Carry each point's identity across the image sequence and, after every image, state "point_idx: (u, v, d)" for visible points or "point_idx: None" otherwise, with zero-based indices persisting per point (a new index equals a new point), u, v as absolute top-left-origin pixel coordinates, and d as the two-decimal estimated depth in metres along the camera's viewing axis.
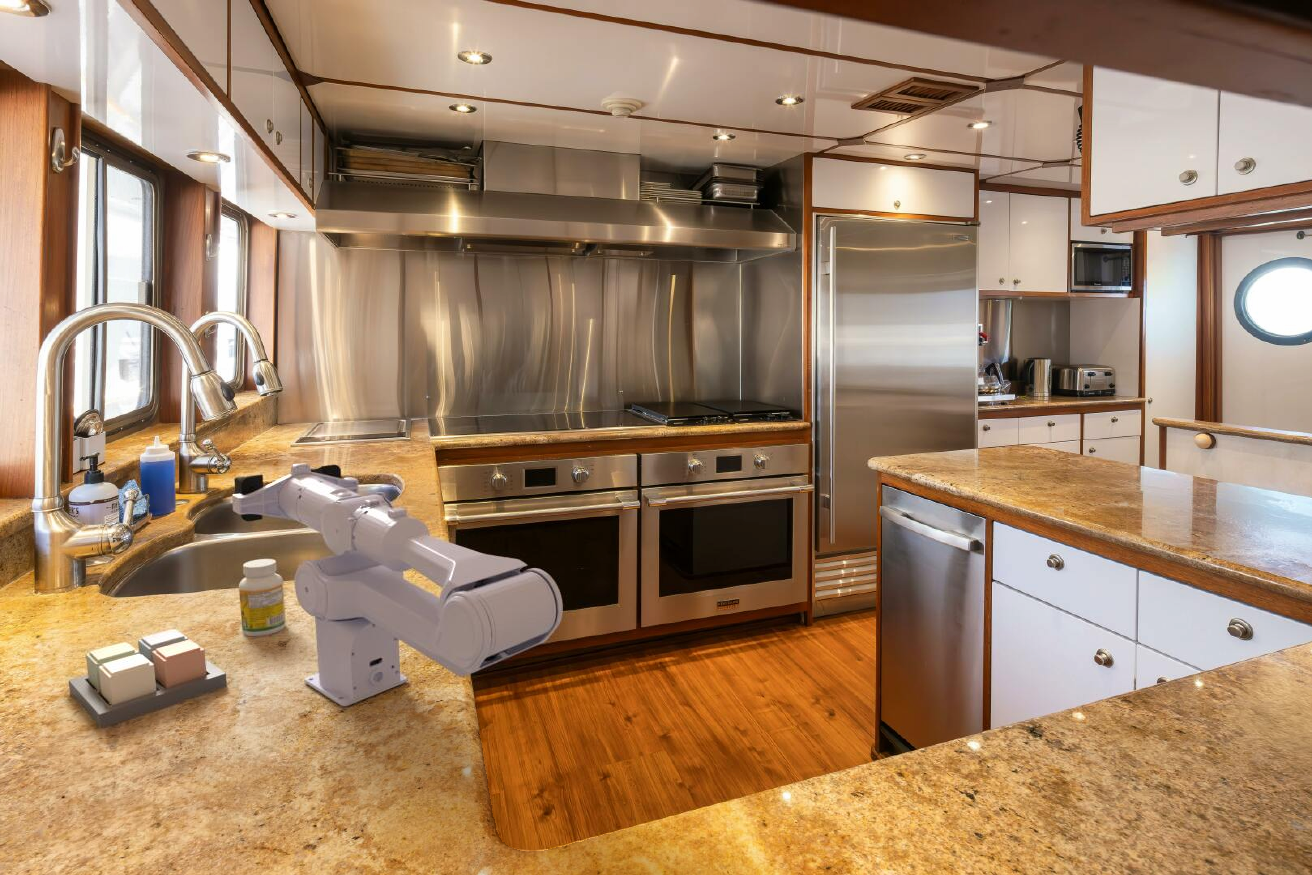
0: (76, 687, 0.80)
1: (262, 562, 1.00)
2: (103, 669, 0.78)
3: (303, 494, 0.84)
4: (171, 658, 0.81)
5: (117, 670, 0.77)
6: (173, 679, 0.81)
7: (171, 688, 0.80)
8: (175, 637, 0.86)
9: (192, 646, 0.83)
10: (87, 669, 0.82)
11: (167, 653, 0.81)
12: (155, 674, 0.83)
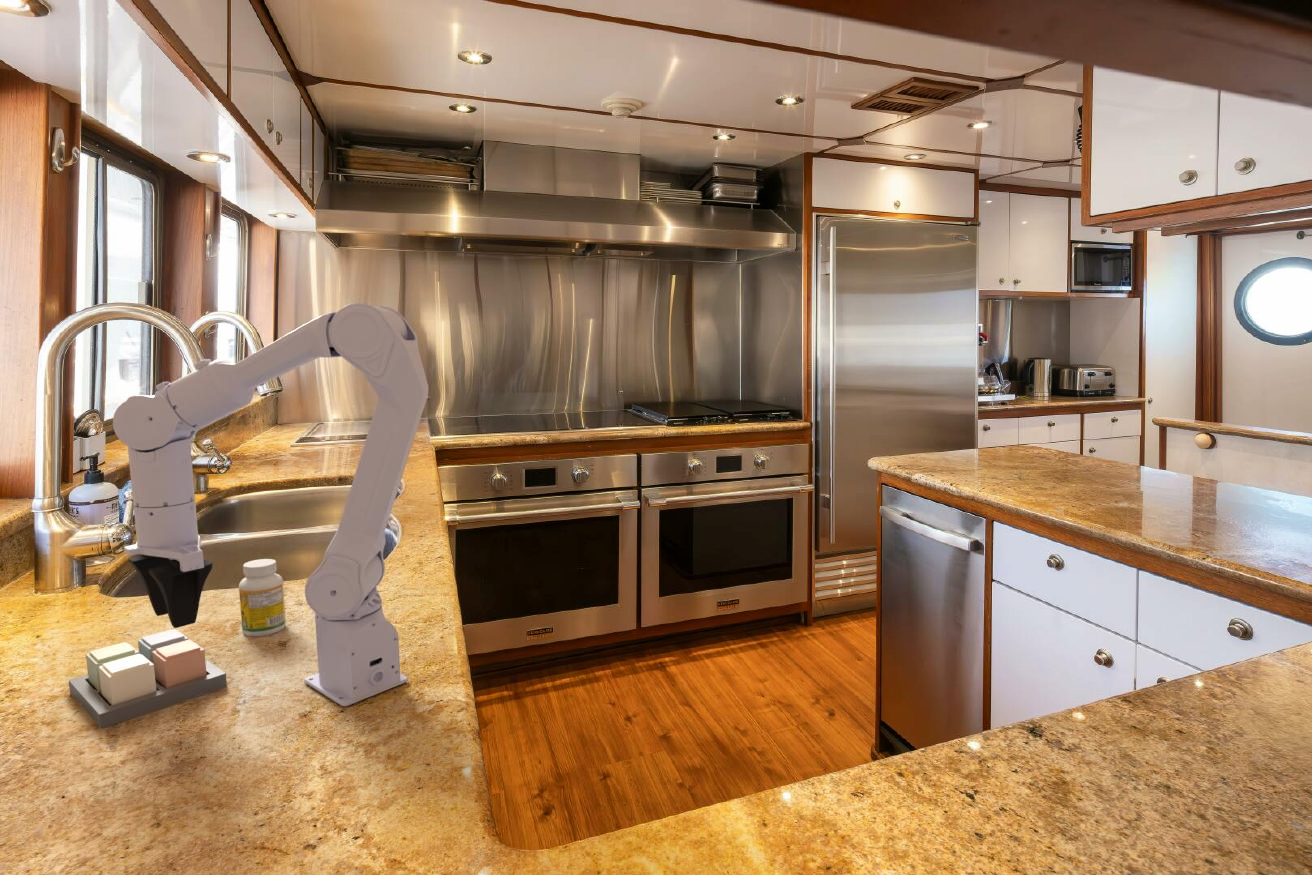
0: (76, 687, 0.80)
1: (262, 562, 1.00)
2: (103, 669, 0.78)
3: (135, 501, 0.78)
4: (171, 658, 0.81)
5: (117, 670, 0.77)
6: (173, 679, 0.81)
7: (171, 688, 0.80)
8: (175, 637, 0.86)
9: (192, 646, 0.83)
10: (87, 669, 0.82)
11: (167, 653, 0.81)
12: (155, 674, 0.83)
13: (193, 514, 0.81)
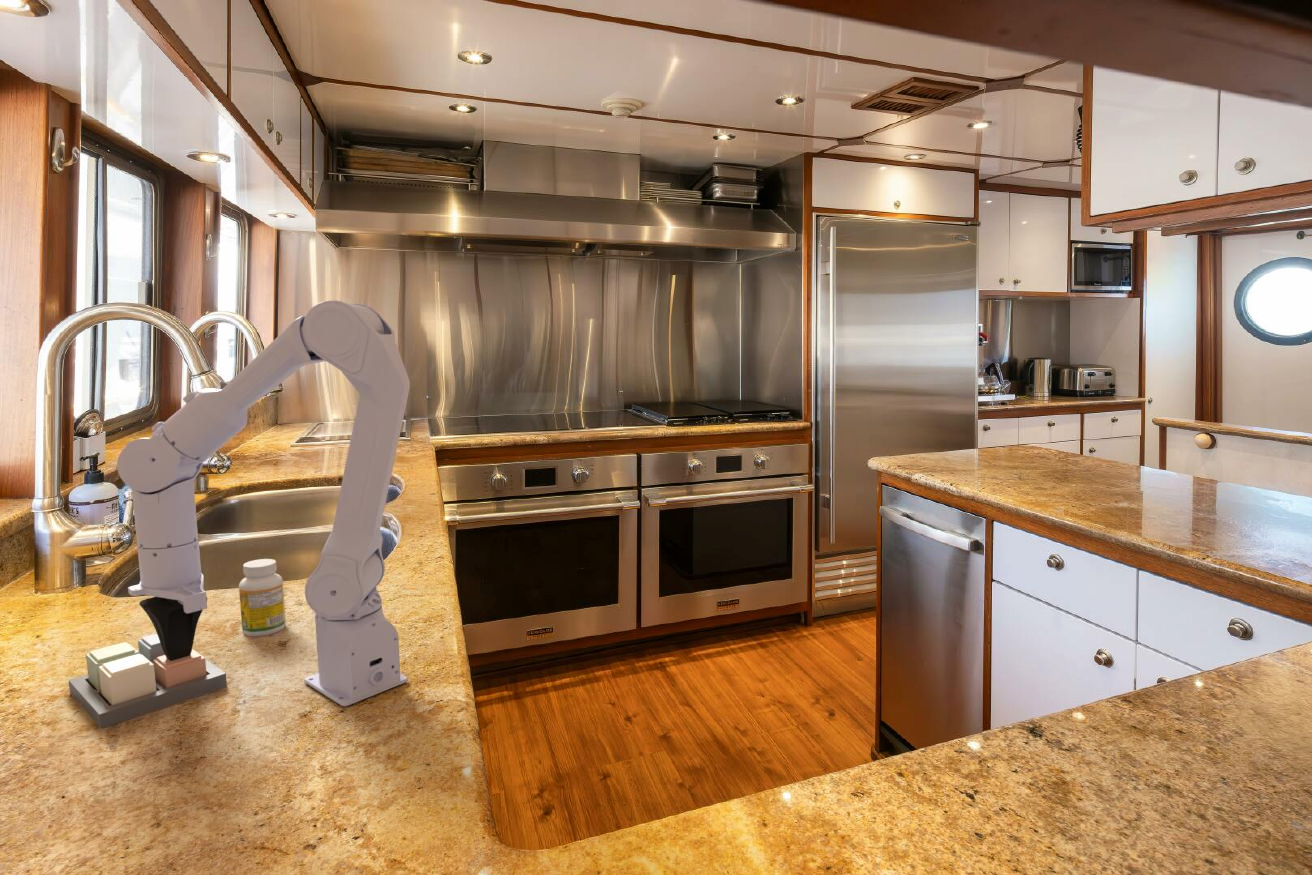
0: (76, 687, 0.80)
1: (262, 562, 1.00)
2: (103, 669, 0.78)
3: (139, 542, 0.79)
4: (172, 667, 0.81)
5: (117, 670, 0.77)
6: None
7: (171, 688, 0.80)
8: None
9: (193, 654, 0.83)
10: (87, 669, 0.82)
11: (168, 662, 0.82)
12: None
13: (196, 553, 0.82)
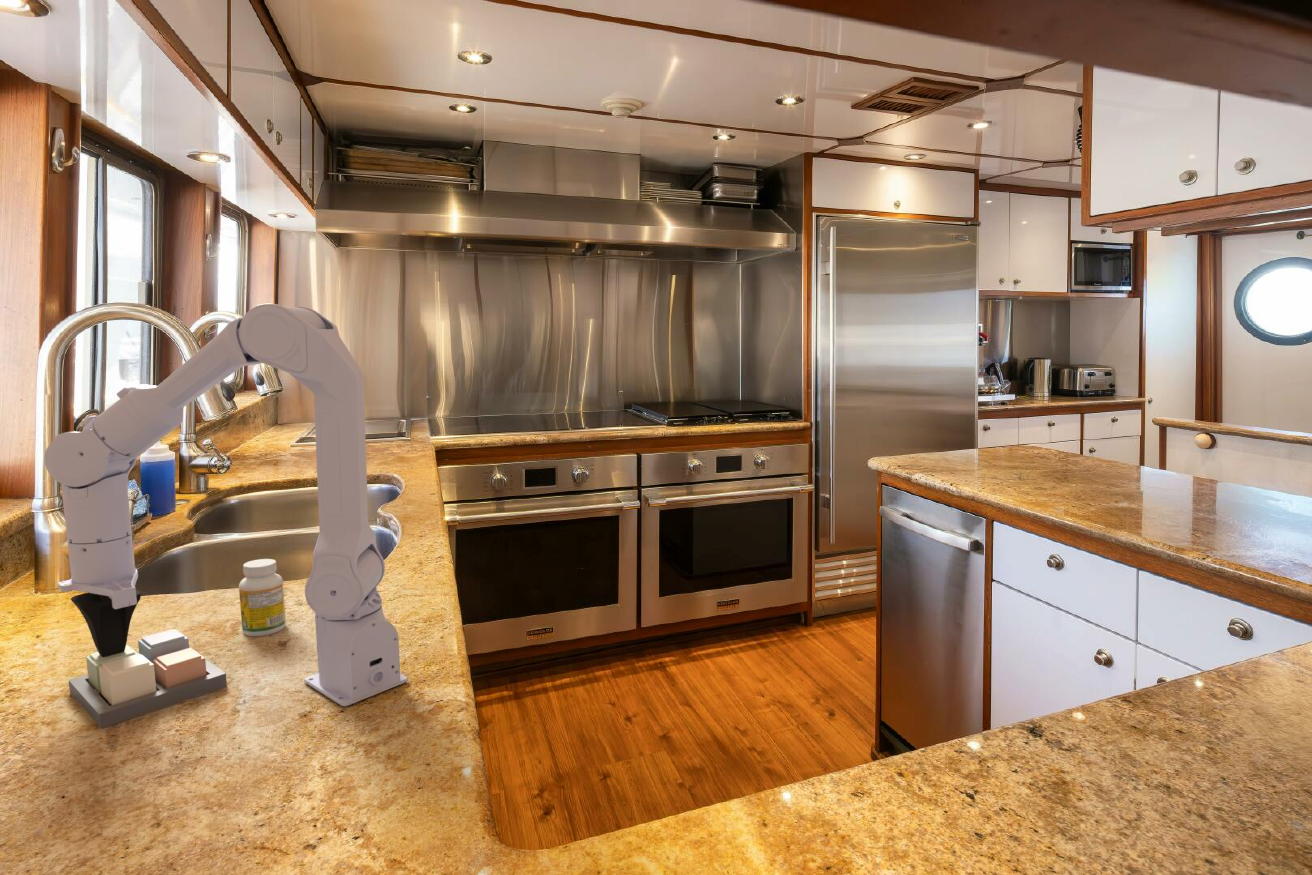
0: (76, 687, 0.80)
1: (262, 562, 1.00)
2: (103, 669, 0.78)
3: (68, 537, 0.78)
4: (172, 667, 0.81)
5: (117, 670, 0.77)
6: None
7: (171, 688, 0.80)
8: (175, 637, 0.86)
9: (193, 654, 0.83)
10: None
11: (168, 662, 0.82)
12: None
13: (129, 549, 0.81)
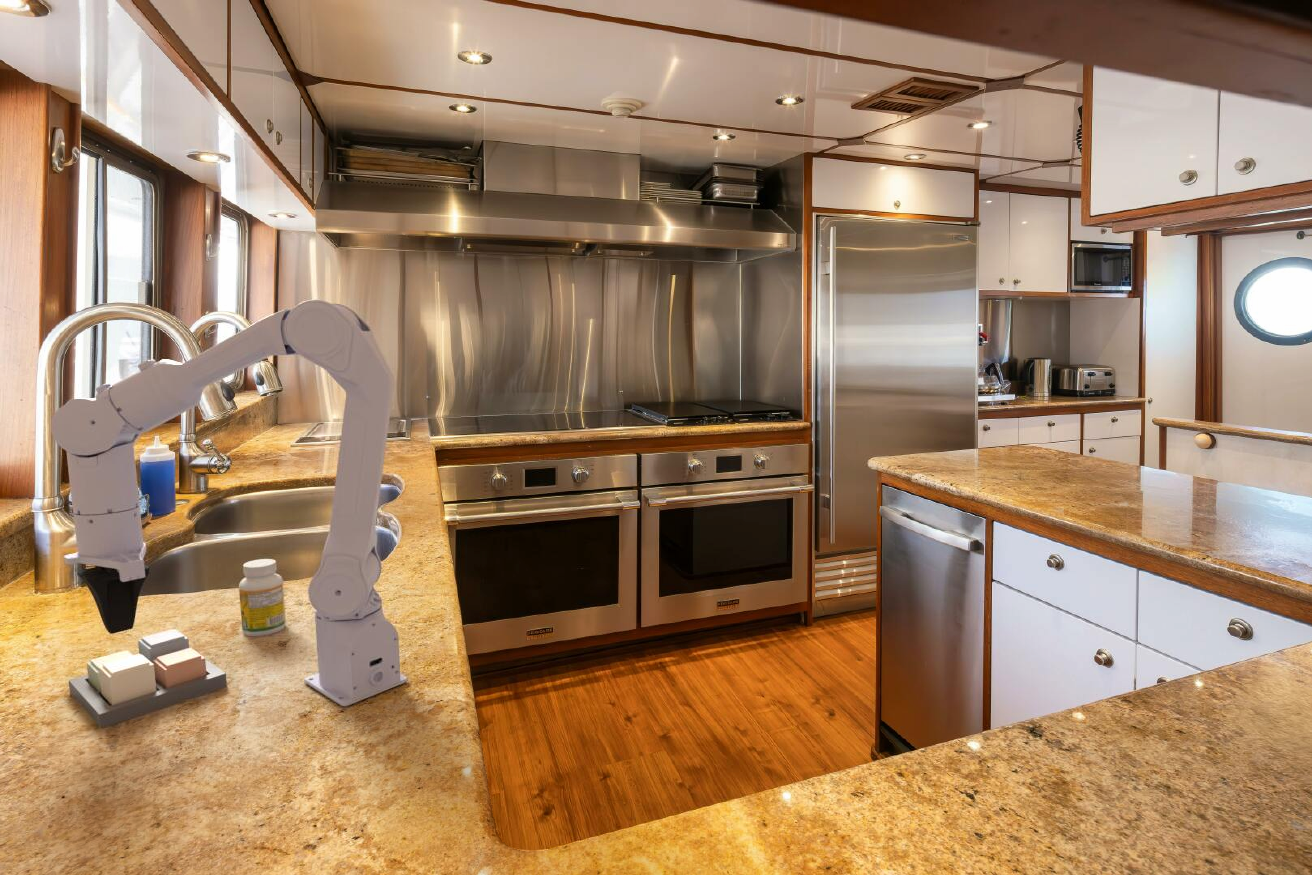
0: (76, 687, 0.80)
1: (262, 562, 1.00)
2: (103, 669, 0.78)
3: (76, 508, 0.75)
4: (172, 667, 0.81)
5: (117, 670, 0.77)
6: None
7: (171, 688, 0.80)
8: (175, 637, 0.86)
9: (193, 654, 0.83)
10: (88, 677, 0.82)
11: (168, 662, 0.82)
12: None
13: (137, 521, 0.78)
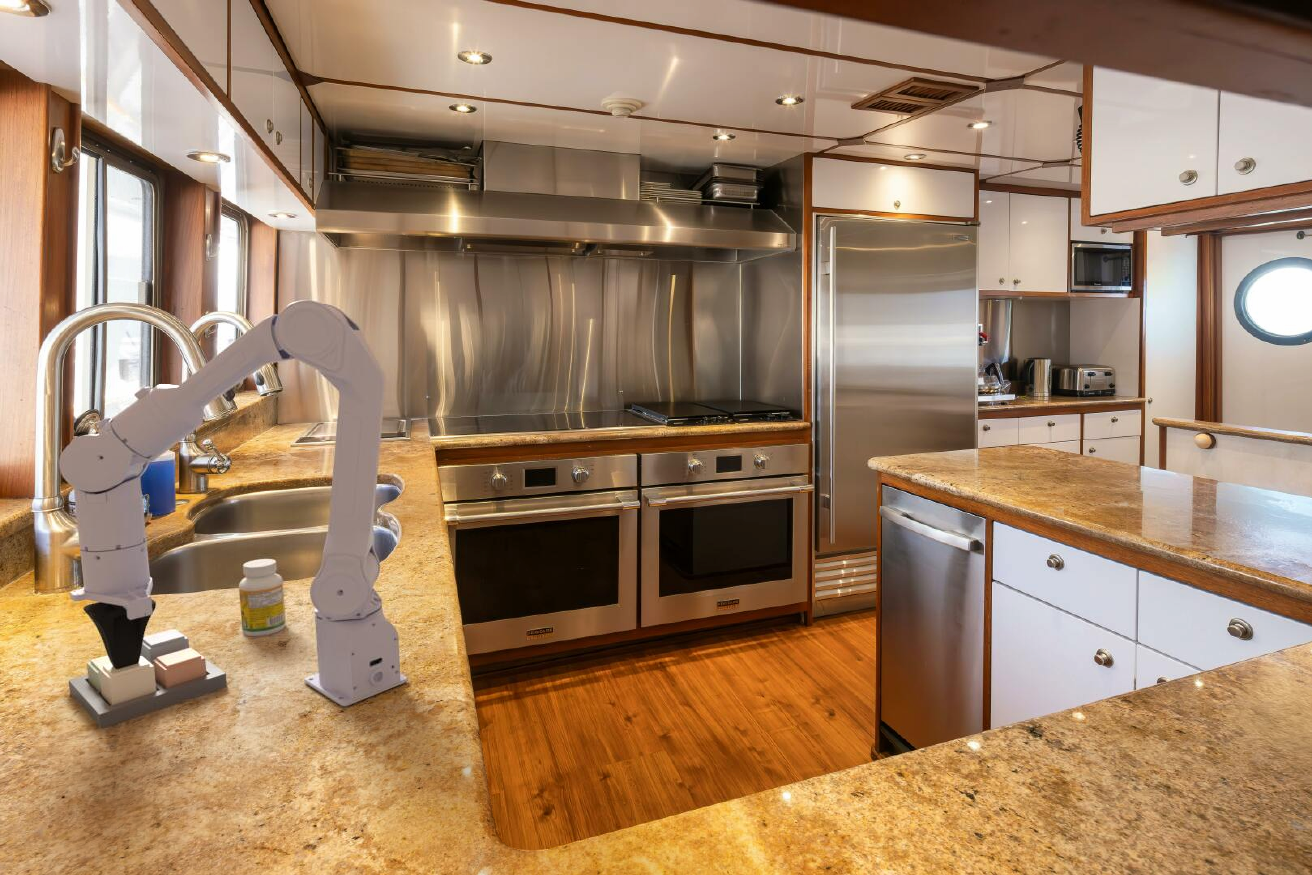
0: (76, 687, 0.80)
1: (262, 562, 1.00)
2: (103, 670, 0.78)
3: (83, 545, 0.75)
4: (172, 667, 0.81)
5: (117, 671, 0.77)
6: None
7: (171, 688, 0.80)
8: (175, 637, 0.86)
9: (193, 654, 0.83)
10: (88, 677, 0.82)
11: (168, 662, 0.82)
12: None
13: (144, 556, 0.78)
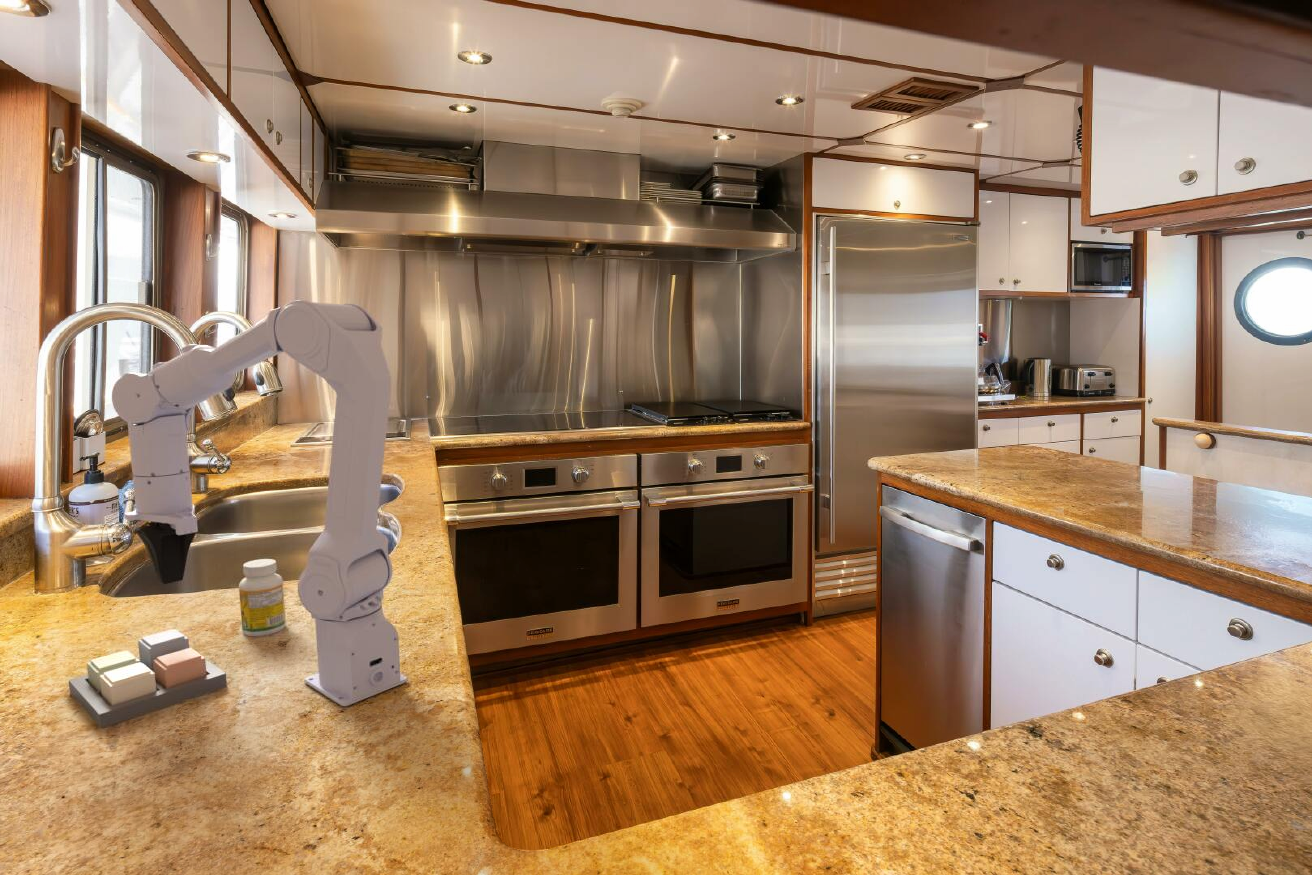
0: (76, 687, 0.80)
1: (262, 562, 1.00)
2: (104, 678, 0.78)
3: (132, 470, 0.85)
4: (172, 667, 0.81)
5: (118, 679, 0.77)
6: None
7: (171, 688, 0.80)
8: (175, 637, 0.86)
9: (193, 654, 0.83)
10: (88, 677, 0.82)
11: (168, 662, 0.82)
12: None
13: (188, 484, 0.88)
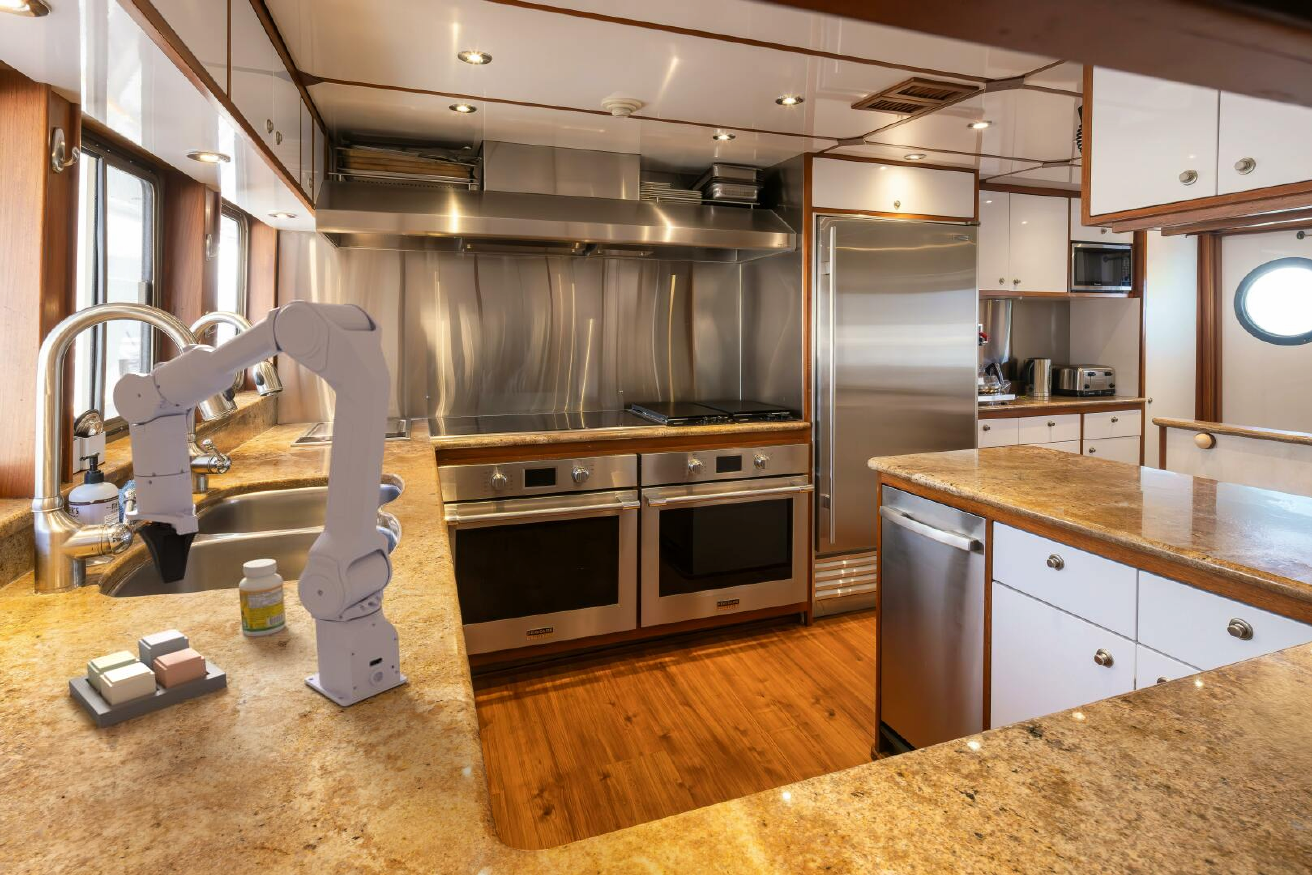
0: (76, 687, 0.80)
1: (262, 562, 1.00)
2: (104, 678, 0.78)
3: (133, 469, 0.86)
4: (172, 667, 0.81)
5: (118, 679, 0.77)
6: None
7: (171, 688, 0.80)
8: (175, 637, 0.86)
9: (193, 654, 0.83)
10: (88, 677, 0.82)
11: (168, 662, 0.82)
12: None
13: (189, 483, 0.88)
